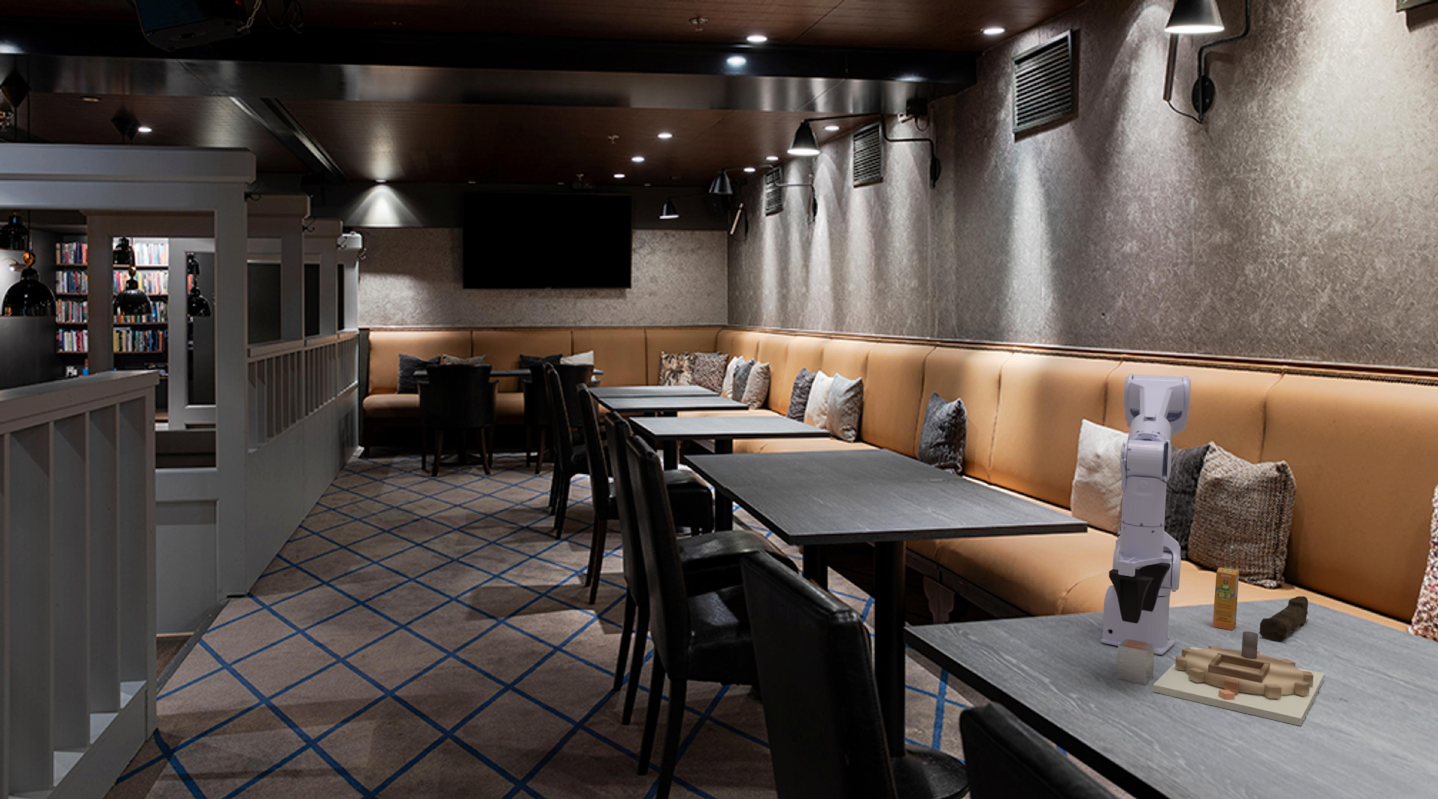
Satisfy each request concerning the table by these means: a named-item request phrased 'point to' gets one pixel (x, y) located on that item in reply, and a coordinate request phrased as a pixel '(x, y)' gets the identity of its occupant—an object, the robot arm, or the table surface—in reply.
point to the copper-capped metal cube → (1135, 661)
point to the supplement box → (1225, 598)
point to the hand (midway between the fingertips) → (1137, 615)
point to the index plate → (1240, 696)
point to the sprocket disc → (1245, 670)
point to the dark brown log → (1285, 620)
